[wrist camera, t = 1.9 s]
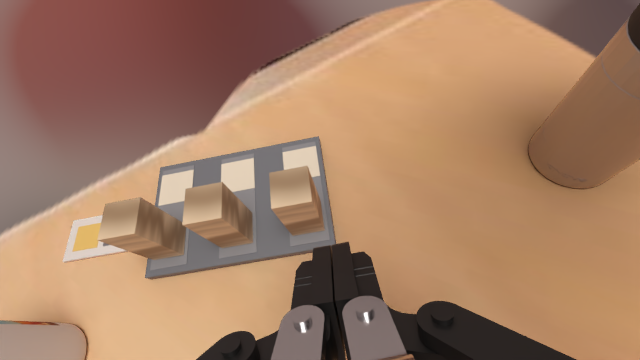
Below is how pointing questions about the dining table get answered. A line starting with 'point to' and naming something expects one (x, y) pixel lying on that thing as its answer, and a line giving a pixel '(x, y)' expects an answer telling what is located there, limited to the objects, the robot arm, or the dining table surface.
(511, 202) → the dining table surface
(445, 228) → the dining table surface
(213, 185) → the block
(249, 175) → the toggle board
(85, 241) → the card
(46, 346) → the milk bottle
